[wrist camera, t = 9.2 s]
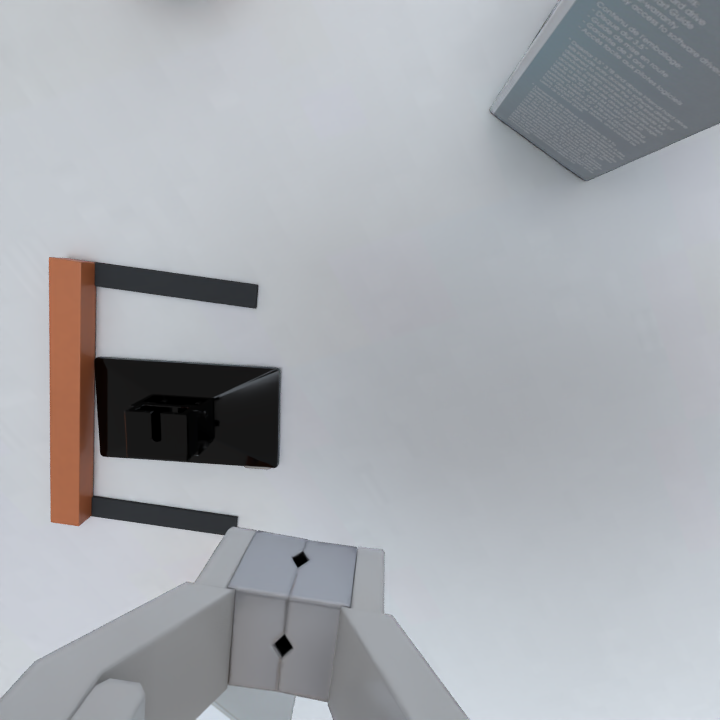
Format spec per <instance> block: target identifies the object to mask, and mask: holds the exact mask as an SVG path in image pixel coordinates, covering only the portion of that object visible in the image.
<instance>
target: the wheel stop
mask: <svg viewBox="0 0 720 720" xmlns="http://www.w3.org/2000/svg"><path fill="white" fill-rule="evenodd" d="M95 315H96V286H95V262H90V261H83V260H76V259H69V258H55V257H49V333H50V484H51V522H53V523H60V524H67V525H74V526H80V525H81V524H82V523H83V522H84V521H86V520H87V519H88V518H89V517H90V516H91V503H92V497H93V452H94V383H95V366H94V360H95Z"/></svg>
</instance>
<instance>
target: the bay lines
mask: <svg viewBox="0 0 720 720" xmlns="http://www.w3.org/2000/svg"><path fill="white" fill-rule="evenodd" d="M95 286H99V287H106V288H113V289H121V290H128V291H135V292H142V293H149V294H156V295H163V296H171V297H178V298H185V299H192V300H199V301H206V302H213V303H221V304H228V305H235V306H242V307H249V308H256V303H257V292H258V285H255V284H248V283H241V282H234V281H227V280H219V279H212V278H205V277H198V276H191V275H184V274H176V273H169V272H162V271H155V270H148V269H141V268H133V267H126V266H119V265H112V264H105V263H98V262H95ZM91 516H94V517H101V518H108V519H115V520H122V521H129V522H136V523H143V524H150V525H157V526H164V527H171V528H178V529H185V530H192V531H199V532H206V533H213V534H220V535H225V534H226V532H227V531H228V530H229V529H230V528H232V527H237V518H238V517H236V516H229V515H222V514H215V513H208V512H201V511H194V510H187V509H180V508H174V507H167V506H160V505H153V504H146V503H139V502H132V501H125V500H118V499H111V498H104V497H97V496H93V497H92V503H91Z"/></svg>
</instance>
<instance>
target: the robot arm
mask: <svg viewBox="0 0 720 720" xmlns="http://www.w3.org/2000/svg"><path fill="white" fill-rule="evenodd" d="M384 567H385V552H384V551H383V549H375V548H367V547H358V549H357V547H354V546H347V545H340V544H332V543H325V542H318V541H311V540H308V539H303V538H297V537H292V536H286V535H281V534H275V533H270V532H264V531H256V530H253V529H246V528H240V527H232V528H230V529H229V530H228V531H227V532H226V534H225V535H224V537H223V539H222V540H221V542H220V543H219V545H218V546H217V548H216V550H215V551H214V553H213V554H212V556H211V558H210V559H209V561H208V562H207V564H206V565H205V567H204V569H203V570H202V572H201V573H200V575H199V576H198V578H197V580H196V581H195V583H191V582H185V583H183V584H181V585H179V586H178V587H176V588H174V589H172V590H170V591H168V592H166V593H164V594H162V595H160V596H158V597H157V598H155V599H153V600H151V601H149V602H147V603H145V604H143V605H141V606H139V607H138V608H136V609H134V610H132V611H130V612H128V613H126V614H124V615H122V616H120V617H118V618H117V619H115V620H113V621H111V622H109V623H107V624H105V625H103V626H101V627H99V628H98V629H96V630H94V631H92V632H90V633H88V634H86V635H84V636H82V637H80V638H78V639H77V640H75V641H73V642H71V643H69V644H67V645H65V646H63V647H61V648H59V649H57V650H56V651H54V652H52V653H50V654H48V655H46V656H44V657H42V658H40V659H38V660H37V661H35V662H34V663H33V664H32V665H31V666H30V667H29V668H28V669H27V670H26V671H25V672H24V674H23V675H22V676H21V677H20V678H19V679H18V680H17V681H16V682H15V683H14V684H13V686H12V687H11V688H10V689H9V690H8V691H7V692H6V693H5V694H4V695H3V696H2V697H1V699H0V720H196V719H197V718H198V717H199V716H200V715H201V714H202V713H203V712H204V711H205V710H206V709H207V708H208V707H209V706H210V705H211V704H212V703H213V702H214V701H215V700H216V699H217V698H218V697H219V696H220V695H221V694H222V693H223V692H224V691H225V690H226V689H227V685H230V686H238V687H245V688H252V689H260V690H267V691H274V692H278V691H279V692H280V693H285V694H290V695H295V696H300V697H305V698H310V699H315V700H319V701H324V702H328V707H329V710H330V712H331V715H332V718H333V720H469V718H468V717H467V716H466V714H465V713H464V711H463V710H462V709H461V707H460V706H459V705H458V703H457V702H456V701H455V699H454V698H453V697H452V695H451V694H450V693H449V691H448V690H447V688H446V687H445V686H444V684H443V683H442V682H441V680H440V679H439V678H438V676H437V675H436V674H435V672H434V671H433V670H432V668H431V667H430V666H429V664H428V663H427V661H426V660H425V659H424V657H423V656H422V655H421V653H420V652H419V651H418V649H417V648H416V647H415V645H414V644H413V643H412V641H411V640H410V639H409V637H408V636H407V634H406V633H405V632H404V630H403V629H402V628H401V626H400V625H399V624H398V622H397V621H396V620H395V618H394V617H393V616H392V615H389V614H384Z"/></svg>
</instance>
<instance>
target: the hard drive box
mask: <svg viewBox="0 0 720 720" xmlns="http://www.w3.org/2000/svg"><path fill="white" fill-rule="evenodd" d="M490 111H491V113H493V114H494V115H495V116H496V117H498V118H499V119H500V120H502V121H503V122H504V123H506V124H507V125H509V126H510V127H511V128H513V129H514V130H515V131H517V132H518V133H520V134H521V135H522V136H524V137H525V138H526V139H528V140H529V141H530V142H532V143H533V144H534V145H536V146H537V147H539V148H540V149H541V150H543V151H544V152H546V153H547V154H548V155H550V156H551V157H552V158H554V159H555V160H556V161H558V162H559V163H561V164H562V165H563V166H565V167H566V168H568V169H569V170H571V171H572V172H573V173H575V174H576V175H578V176H579V177H581V178H582V179H584V180H585V181H588V180H590V179H593V178H595V177H597V176H600V175H602V174H604V173H607V172H609V171H611V170H614V169H616V168H618V167H620V166H623V165H625V164H627V163H629V162H632V161H634V160H636V159H639V158H641V157H644V156H646V155H648V154H650V153H652V152H655V151H657V150H660V149H662V148H664V147H666V146H669V145H671V144H673V143H675V142H677V141H680V140H682V139H684V138H687V137H689V136H691V135H694V134H696V133H698V132H700V131H703V130H705V129H707V128H710V127H712V126H714V125H717V124H719V123H720V0H559V1H558V3H557V4H556V6H555V7H554V9H553V10H552V12H551V14H550V15H549V17H548V18H547V20H546V21H545V23H544V25H543V26H542V28H541V29H540V31H539V32H538V34H537V35H536V37H535V39H534V40H533V42H532V43H531V45H530V46H529V48H528V50H527V51H526V53H525V54H524V56H523V57H522V59H521V61H520V62H519V64H518V65H517V67H516V68H515V70H514V72H513V73H512V75H511V76H510V78H509V79H508V81H507V82H506V84H505V86H504V87H503V89H502V90H501V92H500V93H499V95H498V96H497V98H496V100H495V101H494V103H493V105H492V106H491V108H490Z"/></svg>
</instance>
